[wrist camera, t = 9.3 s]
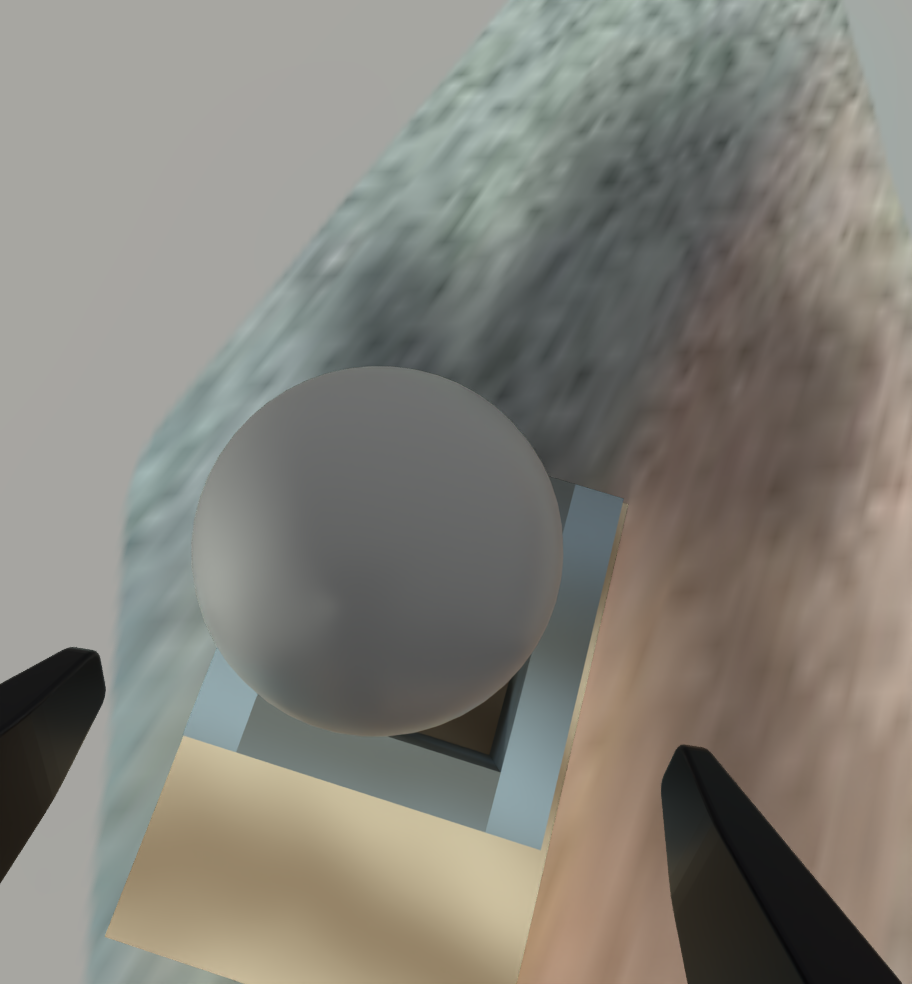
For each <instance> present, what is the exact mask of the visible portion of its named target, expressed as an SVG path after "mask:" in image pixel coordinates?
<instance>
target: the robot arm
mask: <svg viewBox="0 0 912 984" xmlns="http://www.w3.org/2000/svg"><path fill="white" fill-rule="evenodd" d="M105 691H106V687H105V681H104V676H103V670H102V665H101V660H100V656H99V654H98V653H97V652H96V651H94V650H89V649H83V648H77V647H70V648H66V649H64V650H62V651H60V652H58V653H56V654H55V655H52V656H51V657H49V658H47V659H45V660H43V661H42V662H40V663H38V664H36V665H34V666H32V667H30V668H29V669H27V670H25V671H23V672H21V673H19V674H18V675H16V676H14V677H12V678H10V679H9V680H6V681H5V682H3V683H1V684H0V883H1V881H2V880H3V878H4V877H5V875H6V874H7V872H8V871H9V869H10V867H11V866H12V864H13V863H14V861H15V860H16V858H17V857H18V855H19V853H20V852H21V850H22V849H23V847H24V846H25V844H26V842H27V841H28V839H29V838H30V836H31V835H32V833H33V832H34V830H35V828H36V827H37V825H38V824H39V822H40V821H41V819H42V817H43V816H44V814H45V813H46V811H47V809H48V808H49V806H50V804H51V803H52V801H53V799H54V797H55V796H56V794H57V792H58V790H59V788H60V787H61V785H62V783H63V781H64V779H65V777H66V775H67V773H68V771H69V769H70V767H71V765H72V763H73V761H74V759H75V757H76V755H77V753H78V751H79V749H80V747H81V745H82V743H83V741H84V739H85V737H86V735H87V733H88V731H89V729H90V727H91V725H92V723H93V721H94V720H95V718H96V716H97V714H98V712H99V710H100V708H101V706H102V703H103V701H104V698H105ZM661 798H662V808H663V819H664V830H665V841H666V852H667V862H668V873H669V883H670V892H671V899H672V905H673V911H674V917H675V922H676V927H677V932H678V937H679V942H680V947H681V952H682V957H683V962H684V967H685V972H686V978H687V983H688V984H902V982H901V981H900V980H899V979H898V977H897V976H896V975H895V974H894V973H893V971H892V970H891V969H890V968H889V967H888V965H887V964H886V963H885V962H884V961H883V959H882V958H881V957H880V956H879V955H878V953H877V952H876V951H875V950H874V949H873V947H872V946H871V945H870V944H869V943H868V941H867V940H866V939H865V938H864V937H863V935H862V934H861V933H860V932H859V930H858V929H857V928H856V927H855V926H854V924H853V923H852V922H851V921H850V920H849V918H848V917H847V916H846V915H845V914H844V912H843V911H842V910H841V909H840V908H839V906H838V905H837V904H836V903H835V902H834V900H833V899H832V898H831V897H830V896H829V894H828V893H827V892H826V891H825V890H824V888H823V887H822V886H821V885H820V883H819V882H818V881H817V880H816V879H815V877H814V876H813V875H812V874H811V873H810V871H809V870H808V869H807V868H806V867H805V865H804V864H803V863H802V862H801V861H800V859H799V858H798V857H797V856H796V855H795V853H794V852H793V851H792V850H791V849H790V847H789V846H788V845H787V844H786V843H785V841H784V840H783V839H782V838H781V836H780V835H779V834H778V833H777V832H776V830H775V829H774V828H773V827H772V826H771V824H770V823H769V822H768V821H767V820H766V818H765V817H764V816H763V815H762V814H761V812H760V811H759V810H758V809H757V808H756V806H755V805H754V804H753V803H752V802H751V800H750V799H749V798H748V797H747V796H746V794H745V793H744V792H743V791H742V789H741V788H740V787H739V786H738V785H737V783H736V782H735V781H734V780H733V779H732V777H731V776H730V775H729V774H728V773H727V771H726V770H725V769H724V768H723V767H722V765H721V764H720V763H719V762H718V761H717V759H716V758H715V757H714V756H713V755H712V753H711V752H710V751H708V750H707V749H705V748H702V747H697V746H690V745H680V746H678V747H677V749H676V750H675V752H674V755H673V757H672V759H671V761H670V763H669V765H668V767H667V770H666V772H665V774H664V776H663V779H662V784H661Z"/></svg>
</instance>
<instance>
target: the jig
mask: <svg viewBox="0 0 912 984" xmlns="http://www.w3.org/2000/svg"><path fill="white" fill-rule="evenodd" d="M548 477H549V479H550V481H551V484H552V487H553V490H554V493H555V496H556V499H557V503H558V507H559V513H560V518H561V524H562V535H563V565H562V576H561V582H560V587H559V591H558V595H557V600H556V604H555V606H554V609H553V612H552V614H551V617H550V620H549V622H548V625H547V627H546V629H545V631H544V633H543V635H542V636H541V638H540V640H539V642H538V644H537V646H536V648H535V649H534V650H533V652H532V653H531V655H530V656H529V657H528V659H527V660H526V662H525V663H524V664H523V666H522V667H521V668H520V669H519V670H518V671H517V673H516V674H515V675H514V676H513V677H512V678H511V679H510V680H509V681H508V682H507V683H506V684H505V685H504V686H503V687H502V688H501V689H500V690H498V691H497V692H496V693H495V694H493V695H492V696H491V697H490V698H488V699H487V700H486V701H485V702H483V703H482V704H480V705H478V706H477V707H475V708H474V709H472V710H470V711H469V712H467V713H465V714H464V715H462V716H460V717H457V718H455V719H453V720H451V721H448V722H446V723H444V724H441V725H439V726H436V727H432V728H429V729H425V730H422V731H418V732H415V733H409V734H402V735H395V736H355V735H348V734H341V733H335V732H332V731H328V730H325V729H321V728H318V727H314V726H311V725H309V724H307V723H305V722H302V721H300V720H298V719H296V718H293V717H291V716H289V715H287V714H286V713H284V712H283V711H281V710H279V709H278V708H276V707H275V706H273V705H272V704H270V703H268V702H267V701H266V700H264V699H263V698H262V697H261V696H260V695H259V694H257V693H256V692H255V691H254V690H253V689H252V688H250V687H249V686H248V685H247V684H246V683H245V682H244V681H243V680H242V679H241V678H240V677H239V676H238V674H237V673H236V672H235V671H234V670H233V669H232V668H231V666H230V665H229V664H228V663H227V661H226V660H225V658H224V657H223V655H222V654H221V652H220V651H219V649H218V648H216V651H215V654H214V656H213V659H212V661H211V664H210V666H209V669H208V671H207V674H206V676H205V679H204V682H203V684H202V687H201V689H200V692H199V694H198V697H197V699H196V702H195V704H194V707H193V709H192V712H191V715H190V717H189V720H188V722H187V725H186V727H185V730H184V732H183V739H182V741H181V744H180V746H179V749H178V751H177V754H176V757H175V759H174V762H173V764H172V767H171V769H170V772H169V774H168V777H167V779H166V782H165V785H164V787H163V790H162V792H161V795H160V797H159V800H158V802H157V805H156V807H155V810H154V813H153V815H152V818H151V820H150V823H149V825H148V828H147V830H146V833H145V835H144V838H143V841H142V843H141V846H140V848H139V851H138V853H137V856H136V858H135V861H134V863H133V866H132V869H131V871H130V874H129V876H128V879H127V881H126V884H125V886H124V889H123V891H122V894H121V897H120V899H119V902H118V904H117V907H116V909H115V912H114V914H113V917H112V919H111V922H110V925H109V927H108V930H107V932H106V935H105V937H107V938H110V939H113V940H116V941H119V942H122V943H125V944H128V945H131V946H134V947H137V948H140V949H143V950H146V951H149V952H152V953H155V954H158V955H161V956H164V957H167V958H170V959H173V960H176V961H179V962H182V963H185V964H188V965H191V966H194V967H197V968H200V969H203V970H206V971H209V972H212V973H215V974H218V975H221V976H224V977H227V978H230V979H233V980H235V981H238V982H241V983H244V984H517V980H518V976H519V972H520V968H521V963H522V959H523V955H524V950H525V946H526V942H527V938H528V933H529V929H530V925H531V920H532V916H533V912H534V907H535V903H536V899H537V895H538V890H539V886H540V882H541V877H542V873H543V869H544V865H545V860H546V856H547V852H548V847H549V843H550V839H551V835H552V830H553V826H554V822H555V817H556V813H557V809H558V804H559V800H560V796H561V792H562V787H563V783H564V779H565V774H566V770H567V766H568V762H569V757H570V753H571V749H572V744H573V740H574V736H575V732H576V727H577V723H578V719H579V714H580V710H581V706H582V702H583V697H584V693H585V689H586V684H587V680H588V676H589V671H590V667H591V663H592V659H593V654H594V650H595V646H596V641H597V637H598V633H599V629H600V624H601V620H602V616H603V611H604V607H605V603H606V599H607V594H608V590H609V586H610V581H611V577H612V573H613V569H614V564H615V560H616V556H617V551H618V547H619V543H620V538H621V534H622V530H623V526H624V521H625V517H626V513H627V508H628V504H627V503H623V500H624V499H623V498H620V497H616V496H613V495H610V494H606V493H603V492H600V491H596V490H593V489H590V488H586V487H583V486H580V485H576V484H573V483H570V482H566V481H563V480H560V479H556V478H553V477H550V476H548Z"/></svg>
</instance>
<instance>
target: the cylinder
mask: <svg viewBox="0 0 912 984" xmlns="http://www.w3.org/2000/svg"><path fill="white" fill-rule="evenodd" d="M191 544H192V571H193V577H194V584H195V590H196V596H197V599H198V603H199V606H200V609H201V612H202V616H203V619H204V622H205V624H206V626H207V628H208V630H209V632H210V635H211V637H212V639H213V641H214V643H215V644H216V646H217V648H218V649H219V651H220V652H221V654H222V655H223V657H224V658H225V660H226V661H227V663H228V664H229V665H230V666H231V668H232V669H233V670H234V671H235V672H236V673H237V674H238V676H239V677H240V678H241V679H242V680H243V681H244V682H245V683H246V684H247V685H248V686H249V687H250V688H252V689H253V690H254V691H255V692H256V693H257V694H259V695H260V696H261V697H262V698H263V699H264V700H266V701H267V702H268V703H270V704H272V705H273V706H275V707H276V708H278V709H279V710H281V711H283V712H284V713H286V714H287V715H289V716H291V717H293V718H296V719H298V720H300V721H302V722H305V723H307V724H309V725H311V726H314V727H318V728H321V729H325V730H328V731H332V732H335V733H341V734H348V735H355V736H395V735H402V734H409V733H415V732H418V731H422V730H425V729H429V728H432V727H436V726H439V725H441V724H444V723H446V722H448V721H451V720H453V719H455V718H457V717H460V716H462V715H464V714H465V713H467V712H469V711H470V710H472V709H474V708H475V707H477V706H478V705H480V704H482V703H483V702H485V701H486V700H487V699H488V698H490V697H491V696H492V695H493V694H495V693H496V692H497V691H498V690H500V689H501V688H502V687H503V686H504V685H505V684H506V683H507V682H508V681H509V680H510V679H511V678H512V677H513V676H514V675H515V674H516V673H517V671H518V670H519V669H520V668H521V667H522V666H523V664H524V663H525V662H526V660H527V659H528V657H529V656H530V655H531V653H532V652H533V650H534V649H535V648H536V646H537V644H538V642H539V640H540V638H541V636H542V635H543V633H544V631H545V629H546V627H547V625H548V622H549V620H550V617H551V614H552V612H553V609H554V606H555V604H556V600H557V595H558V591H559V587H560V582H561V576H562V565H563V535H562V524H561V518H560V513H559V507H558V503H557V499H556V496H555V493H554V490H553V487H552V484H551V481H550V479H549V477H548V475H547V472H546V470H545V468H544V466H543V464H542V462H541V460H540V459H539V457H538V455H537V454H536V452H535V451H534V449H533V448H532V446H531V444H530V443H529V442H528V440H527V439H526V438H525V437H524V436H523V434H522V433H521V432H520V431H519V430H518V428H517V427H516V426H515V425H514V424H513V423H512V421H511V420H510V419H508V418H507V417H506V416H505V415H504V414H503V413H502V412H501V411H500V410H499V409H498V408H497V407H495V406H494V405H493V404H491V403H490V402H488V401H487V400H486V399H484V398H483V397H481V396H480V395H479V394H477V393H475V392H474V391H472V390H470V389H468V388H466V387H464V386H462V385H461V384H459V383H457V382H454V381H451V380H449V379H446V378H444V377H441V376H439V375H435V374H431V373H428V372H424V371H420V370H416V369H408V368H401V367H393V366H366V367H357V368H348V369H343V370H339V371H335V372H330V373H326V374H323V375H321V376H318V377H315V378H312V379H309V380H307V381H304V382H302V383H300V384H298V385H296V386H294V387H292V388H290V389H288V390H286V391H285V392H283V393H282V394H280V395H279V396H277V397H276V398H274V399H273V400H271V401H269V402H268V403H267V404H266V405H264V406H263V407H262V408H261V409H260V410H258V411H257V412H256V413H255V414H254V415H252V416H251V417H250V418H249V419H248V420H247V421H246V422H245V424H244V425H243V426H242V427H241V428H240V429H239V430H238V431H237V432H236V433H235V434H234V436H233V437H232V439H231V440H230V441H229V443H228V444H227V445H226V447H225V448H224V450H223V451H222V452H221V454H220V455H219V457H218V459H217V461H216V463H215V464H214V466H213V468H212V470H211V472H210V474H209V475H208V478H207V481H206V483H205V486H204V488H203V491H202V493H201V496H200V499H199V503H198V507H197V511H196V515H195V519H194V526H193V535H192V543H191Z"/></svg>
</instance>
